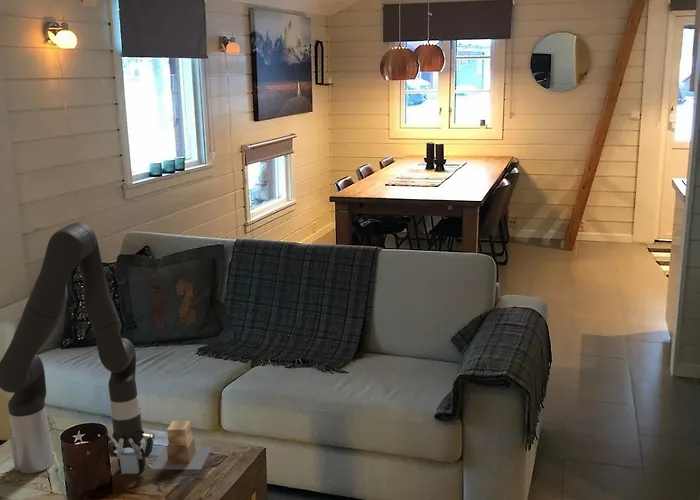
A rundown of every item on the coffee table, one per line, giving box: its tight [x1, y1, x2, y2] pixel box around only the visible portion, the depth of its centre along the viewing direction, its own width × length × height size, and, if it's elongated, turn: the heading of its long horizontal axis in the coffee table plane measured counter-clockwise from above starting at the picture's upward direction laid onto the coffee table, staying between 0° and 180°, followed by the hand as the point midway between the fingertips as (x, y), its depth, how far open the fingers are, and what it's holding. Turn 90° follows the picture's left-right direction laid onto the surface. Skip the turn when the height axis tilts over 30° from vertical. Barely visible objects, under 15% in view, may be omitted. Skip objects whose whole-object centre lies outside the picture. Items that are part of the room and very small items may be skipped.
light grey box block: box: [119, 448, 140, 475], centre depth 203 cm, size 4×4×6 cm
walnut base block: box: [166, 435, 196, 463], centre depth 208 cm, size 6×6×5 cm
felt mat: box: [150, 446, 213, 471], centre depth 208 cm, size 14×12×1 cm
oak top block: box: [167, 420, 193, 446], centre depth 206 cm, size 5×5×5 cm
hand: (132, 469), depth 203 cm, fingers closed on light grey box block, 4 cm apart
